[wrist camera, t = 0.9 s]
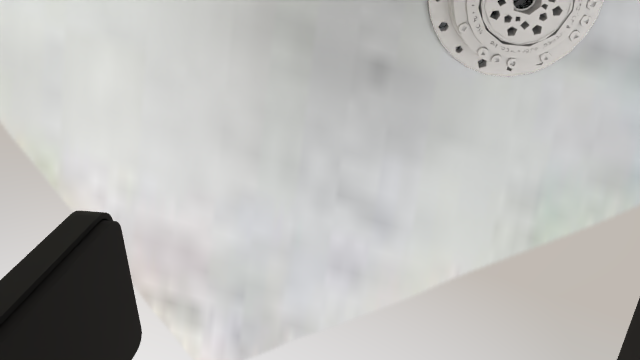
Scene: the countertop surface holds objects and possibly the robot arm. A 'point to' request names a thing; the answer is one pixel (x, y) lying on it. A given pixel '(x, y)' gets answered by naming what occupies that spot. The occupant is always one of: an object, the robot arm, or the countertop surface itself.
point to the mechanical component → (511, 32)
